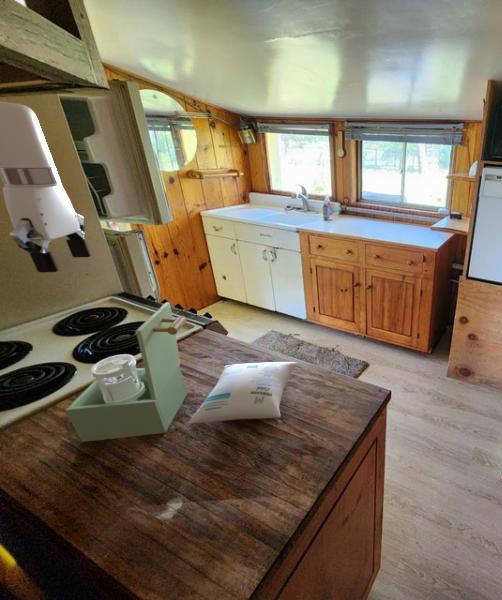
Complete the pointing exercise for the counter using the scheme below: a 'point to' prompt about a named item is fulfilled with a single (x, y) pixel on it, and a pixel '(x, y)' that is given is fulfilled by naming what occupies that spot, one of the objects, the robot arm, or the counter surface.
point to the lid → (160, 347)
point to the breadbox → (126, 411)
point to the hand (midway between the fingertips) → (66, 263)
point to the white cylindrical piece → (119, 388)
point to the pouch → (246, 392)
